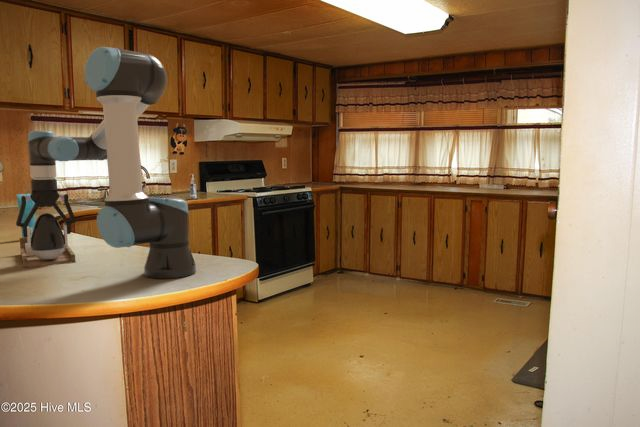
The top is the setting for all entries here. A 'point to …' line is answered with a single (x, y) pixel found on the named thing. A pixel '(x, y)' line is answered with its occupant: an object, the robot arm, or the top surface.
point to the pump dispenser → (47, 237)
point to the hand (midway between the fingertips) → (48, 245)
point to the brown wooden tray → (34, 261)
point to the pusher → (30, 252)
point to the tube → (26, 212)
